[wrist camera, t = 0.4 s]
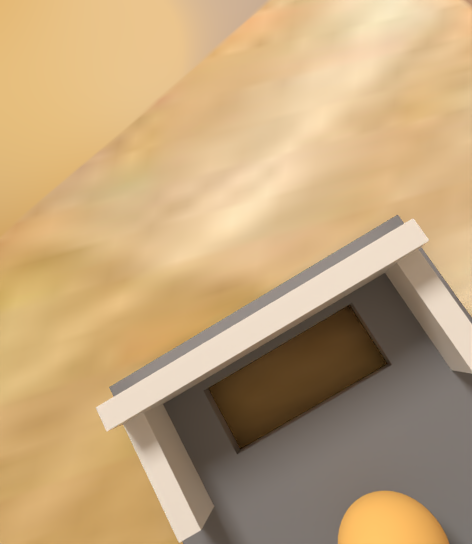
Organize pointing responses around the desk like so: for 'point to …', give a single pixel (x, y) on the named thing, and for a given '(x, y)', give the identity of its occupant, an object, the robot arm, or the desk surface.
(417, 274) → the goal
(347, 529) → the ball
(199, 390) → the board
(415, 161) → the desk surface
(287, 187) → the desk surface
